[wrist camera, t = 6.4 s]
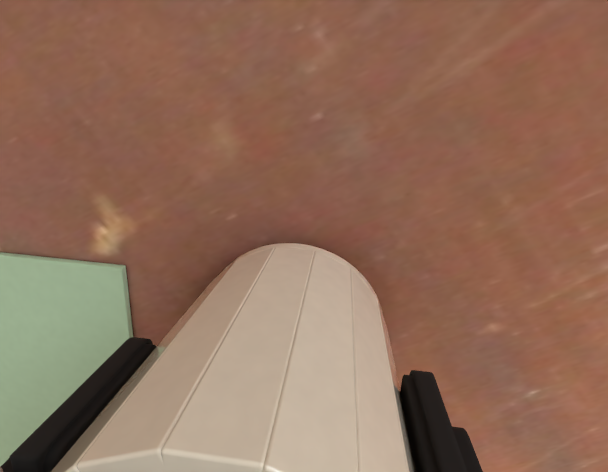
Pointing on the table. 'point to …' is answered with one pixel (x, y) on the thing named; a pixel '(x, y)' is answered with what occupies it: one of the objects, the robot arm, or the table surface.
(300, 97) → the table surface
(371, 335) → the mug
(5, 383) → the mat
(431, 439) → the robot arm
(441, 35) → the table surface
